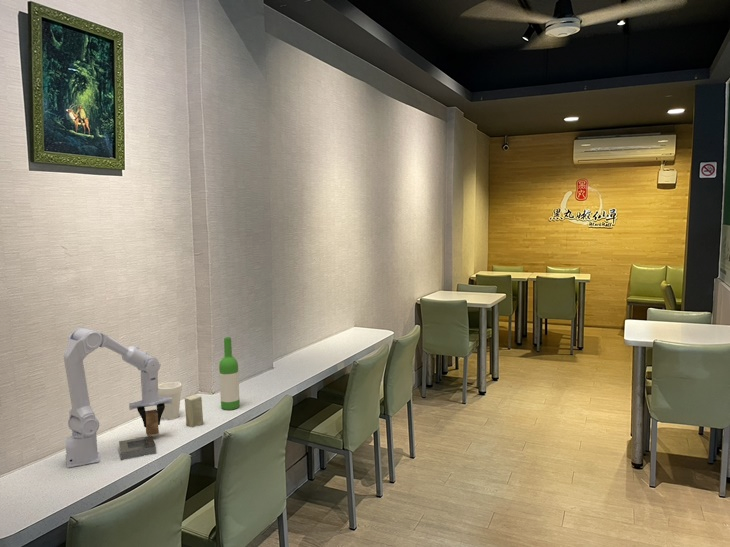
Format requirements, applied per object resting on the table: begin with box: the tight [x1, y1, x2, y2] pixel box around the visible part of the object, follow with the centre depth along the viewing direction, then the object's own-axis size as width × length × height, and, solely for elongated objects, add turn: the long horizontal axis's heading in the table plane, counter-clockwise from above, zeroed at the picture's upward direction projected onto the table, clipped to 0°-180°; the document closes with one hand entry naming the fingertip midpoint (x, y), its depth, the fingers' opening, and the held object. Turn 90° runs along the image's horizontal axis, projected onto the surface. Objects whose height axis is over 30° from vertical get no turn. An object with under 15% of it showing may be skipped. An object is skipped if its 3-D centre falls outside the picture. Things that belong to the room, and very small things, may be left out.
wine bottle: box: [218, 337, 241, 411], centre depth 236 cm, size 8×8×30 cm
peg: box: [145, 408, 160, 436], centre depth 205 cm, size 4×4×8 cm
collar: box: [118, 435, 157, 461], centre depth 194 cm, size 11×11×2 cm
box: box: [184, 394, 204, 428], centre depth 218 cm, size 5×4×11 cm
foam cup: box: [158, 381, 183, 420], centre depth 227 cm, size 10×9×13 cm
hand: (151, 425), depth 205 cm, fingers closed on peg, 4 cm apart
